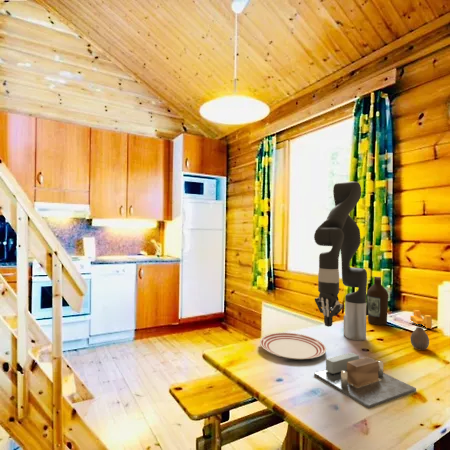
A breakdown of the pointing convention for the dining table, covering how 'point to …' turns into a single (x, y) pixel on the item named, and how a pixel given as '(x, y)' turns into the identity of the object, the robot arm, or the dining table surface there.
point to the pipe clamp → (419, 320)
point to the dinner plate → (293, 346)
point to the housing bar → (339, 362)
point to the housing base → (367, 387)
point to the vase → (419, 339)
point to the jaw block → (362, 371)
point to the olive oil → (377, 303)
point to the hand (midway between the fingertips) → (328, 325)
